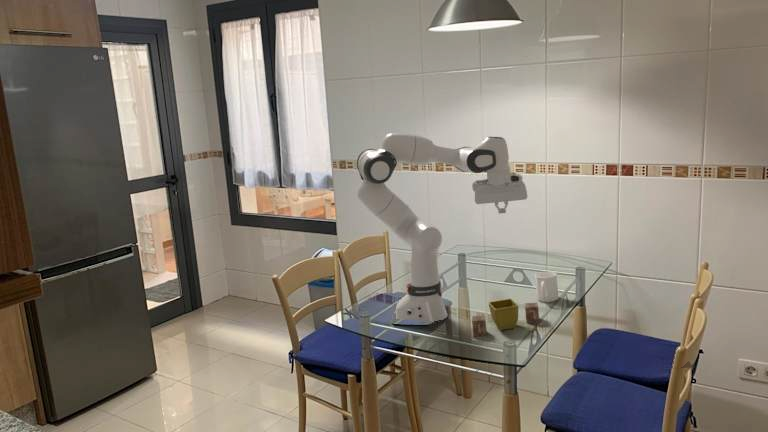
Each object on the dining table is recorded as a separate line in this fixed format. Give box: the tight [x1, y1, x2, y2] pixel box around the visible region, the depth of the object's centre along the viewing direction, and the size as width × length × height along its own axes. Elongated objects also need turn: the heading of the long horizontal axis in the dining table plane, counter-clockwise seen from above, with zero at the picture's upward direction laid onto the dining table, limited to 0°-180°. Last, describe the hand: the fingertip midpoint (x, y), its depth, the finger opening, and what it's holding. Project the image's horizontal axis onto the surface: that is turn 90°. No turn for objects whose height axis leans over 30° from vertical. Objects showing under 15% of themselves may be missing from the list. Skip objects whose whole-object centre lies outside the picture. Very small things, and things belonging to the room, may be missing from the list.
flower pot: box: [488, 298, 519, 331], centre depth 210 cm, size 9×9×9 cm
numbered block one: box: [471, 315, 488, 338], centre depth 207 cm, size 4×5×6 cm
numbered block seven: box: [524, 302, 540, 324], centre depth 213 cm, size 4×5×6 cm
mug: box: [534, 271, 559, 303], centre depth 231 cm, size 12×8×10 cm
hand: (502, 213), depth 228 cm, fingers closed
